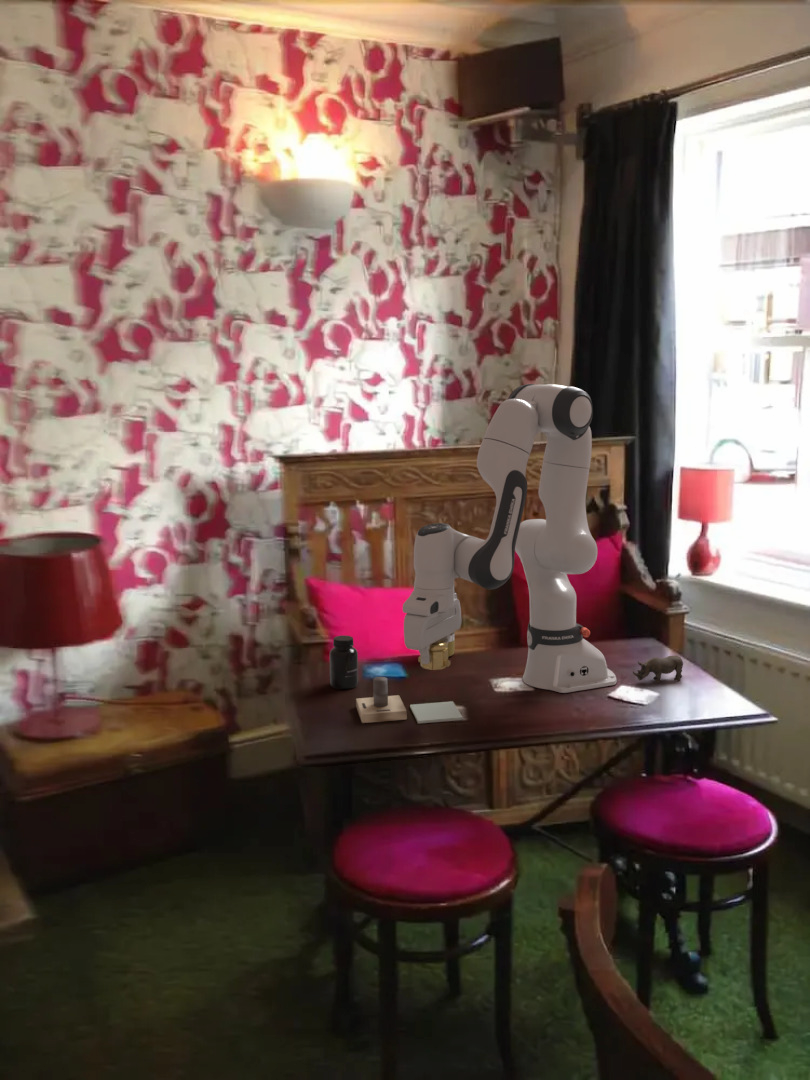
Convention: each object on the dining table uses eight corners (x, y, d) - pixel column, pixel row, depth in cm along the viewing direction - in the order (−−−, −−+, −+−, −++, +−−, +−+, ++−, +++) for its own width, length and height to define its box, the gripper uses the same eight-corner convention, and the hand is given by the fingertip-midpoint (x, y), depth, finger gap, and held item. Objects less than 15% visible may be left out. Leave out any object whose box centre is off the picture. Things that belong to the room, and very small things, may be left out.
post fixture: (399, 703, 234) (398, 670, 233) (406, 719, 225) (406, 685, 223) (356, 706, 233) (355, 673, 231) (362, 723, 223) (360, 688, 221)
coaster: (452, 703, 233) (452, 701, 233) (462, 719, 224) (462, 717, 224) (410, 707, 232) (410, 704, 232) (418, 723, 222) (418, 721, 222)
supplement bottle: (354, 690, 243) (353, 642, 241) (327, 689, 244) (325, 641, 242) (361, 681, 250) (360, 634, 247) (334, 679, 251) (333, 633, 249)
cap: (426, 659, 230) (425, 633, 228) (455, 664, 226) (455, 638, 225) (413, 666, 225) (413, 640, 224) (442, 671, 221) (442, 645, 220)
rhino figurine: (627, 681, 246) (628, 657, 245) (678, 675, 250) (679, 651, 249) (635, 686, 243) (636, 662, 241) (687, 680, 246) (688, 656, 245)
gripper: (443, 586, 233) (443, 644, 235) (398, 606, 215) (399, 669, 218) (468, 589, 230) (468, 648, 232) (424, 610, 212) (424, 673, 215)
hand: (434, 658), depth 225 cm, fingers closed on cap, 6 cm apart
